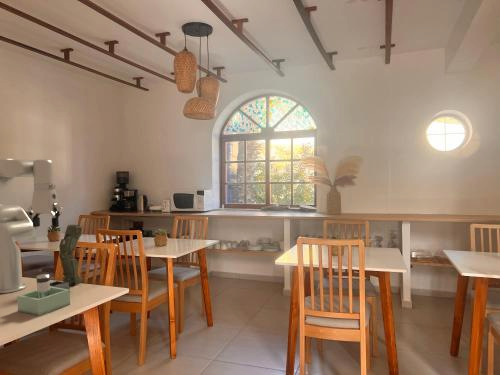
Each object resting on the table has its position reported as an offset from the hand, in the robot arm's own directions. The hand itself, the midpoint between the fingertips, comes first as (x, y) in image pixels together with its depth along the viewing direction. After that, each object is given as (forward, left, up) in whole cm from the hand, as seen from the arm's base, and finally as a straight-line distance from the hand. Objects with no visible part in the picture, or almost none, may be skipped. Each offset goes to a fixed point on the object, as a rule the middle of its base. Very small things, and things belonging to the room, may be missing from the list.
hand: (45, 226), depth 156 cm
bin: (+14, -11, -30) cm, 35 cm away
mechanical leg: (-5, +15, -31) cm, 34 cm away
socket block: (+3, +1, -30) cm, 30 cm away
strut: (+14, -11, -30) cm, 34 cm away
